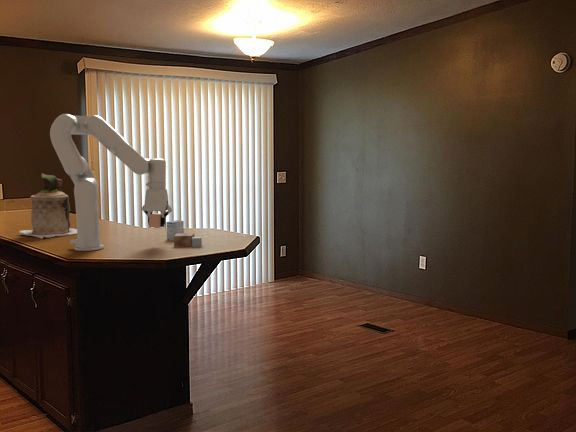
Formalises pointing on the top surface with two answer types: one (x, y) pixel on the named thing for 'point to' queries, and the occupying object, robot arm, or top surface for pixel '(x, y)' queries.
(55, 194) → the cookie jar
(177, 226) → the medicine box
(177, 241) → the walnut block
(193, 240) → the slate block
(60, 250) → the top surface
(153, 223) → the terracotta block
